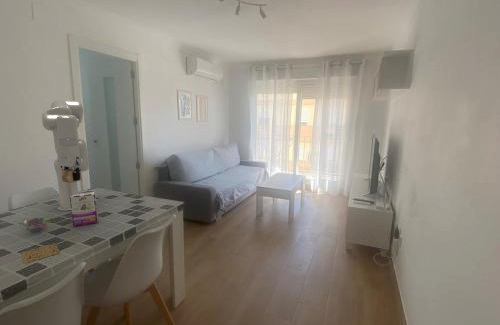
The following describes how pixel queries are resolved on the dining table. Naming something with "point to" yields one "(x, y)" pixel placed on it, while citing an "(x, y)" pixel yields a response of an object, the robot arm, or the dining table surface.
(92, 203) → the candy bar box
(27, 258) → the cookie
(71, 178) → the oak block
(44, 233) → the dining table surface
